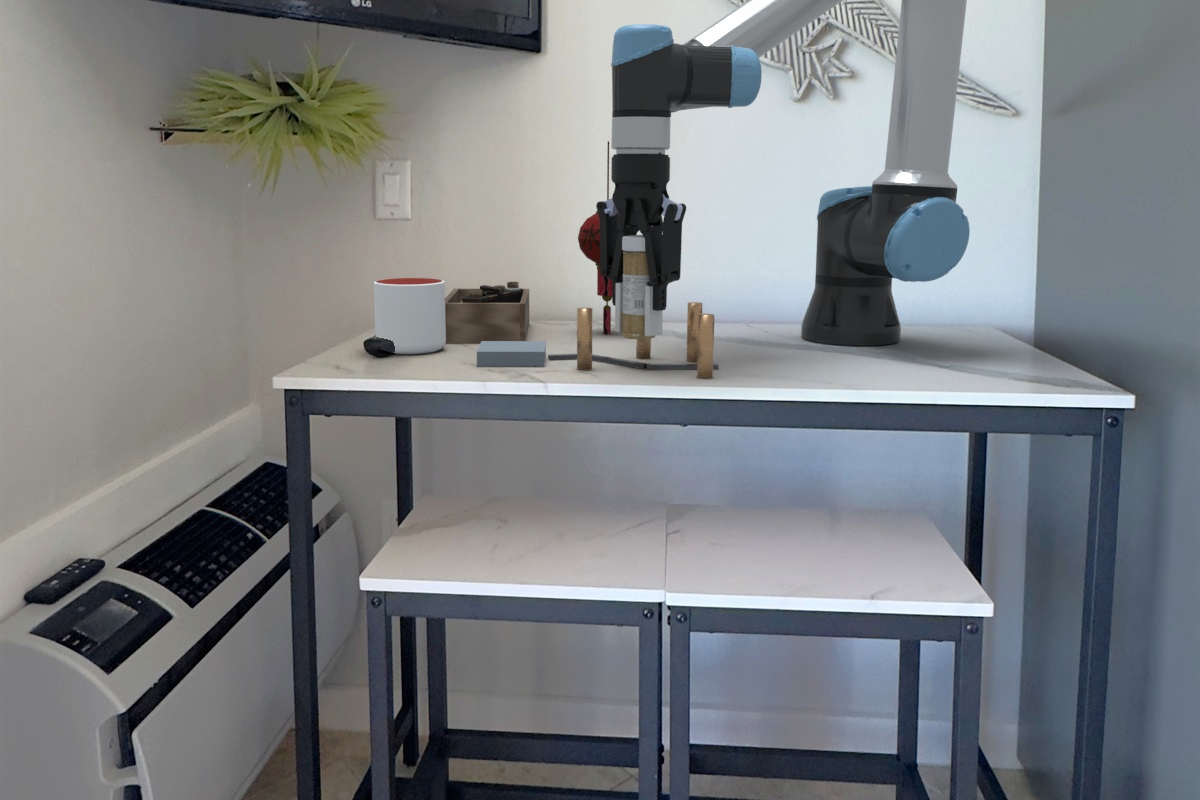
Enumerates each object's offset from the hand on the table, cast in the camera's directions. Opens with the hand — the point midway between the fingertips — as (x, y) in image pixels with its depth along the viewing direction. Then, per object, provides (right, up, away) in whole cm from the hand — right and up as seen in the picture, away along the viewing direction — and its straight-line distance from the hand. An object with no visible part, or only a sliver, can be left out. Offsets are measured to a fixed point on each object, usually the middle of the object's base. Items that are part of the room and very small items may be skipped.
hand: (638, 332), depth 145 cm
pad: (-17, -4, +5) cm, 18 cm away
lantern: (-4, +1, +30) cm, 30 cm away
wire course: (-1, -5, +1) cm, 5 cm away
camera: (-23, +1, +29) cm, 37 cm away
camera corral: (-23, +2, +30) cm, 38 cm away
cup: (-32, -2, +13) cm, 35 cm away
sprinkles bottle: (0, -1, 0) cm, 1 cm away
